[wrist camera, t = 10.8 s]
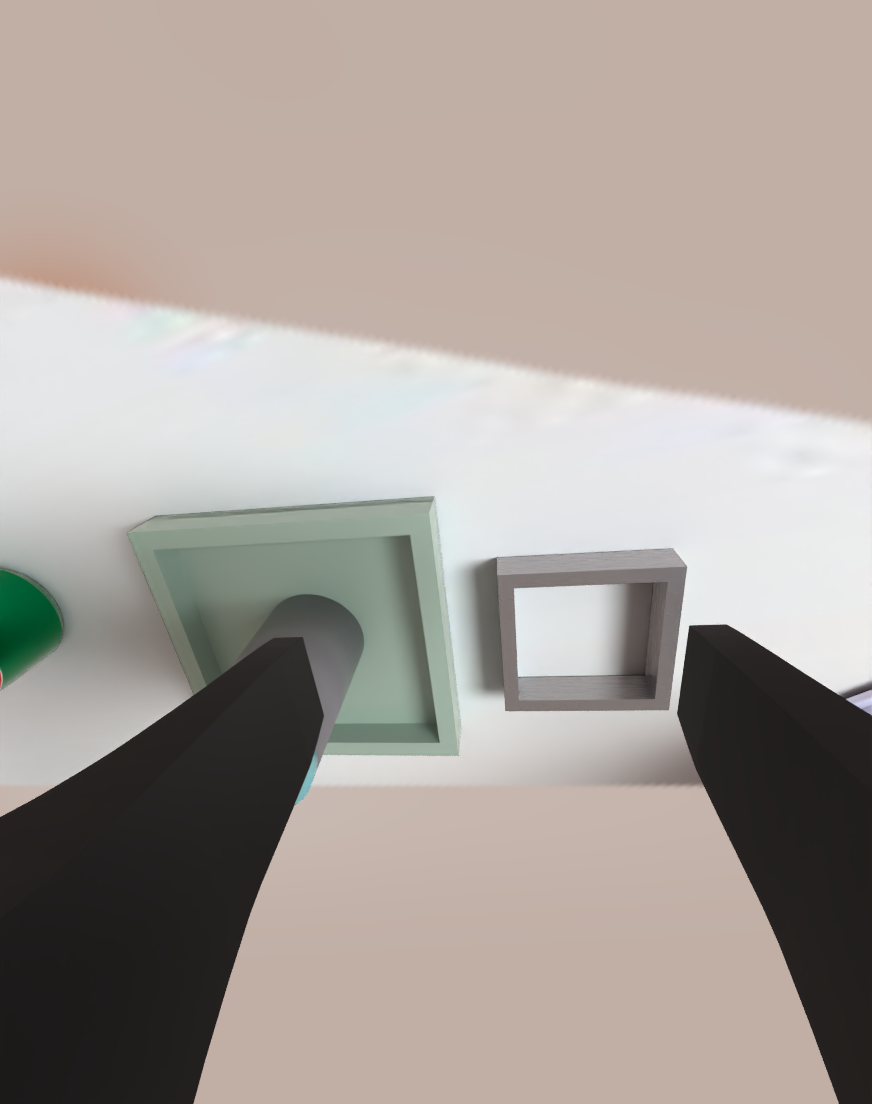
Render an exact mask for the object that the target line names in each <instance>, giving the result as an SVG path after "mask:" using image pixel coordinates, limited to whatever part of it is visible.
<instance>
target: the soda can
mask: <svg viewBox="0 0 872 1104" xmlns="http://www.w3.org/2000/svg"><path fill="white" fill-rule="evenodd" d="M62 632H63V619H62V615H61V612H60V609H59V607H58V605H57V603H56V602H55V600H54V599H53V598H52V596H51V595H50V594H49V593H48V592H47V591H46V590H45V589H44V588H43V587H42V586H40V585H39V584H38V583H37V582H35V581H33V580H32V579H30V578H28V577H26V576H24V575H22V574H19V573H17V572H13V571H9V570H5V569H0V691H2V690H3V689H4V688H6V687H7V686H8V685H9V684H11V683H12V682H13V681H15V680H16V679H17V678H19V677H20V676H21V675H23V674H24V673H25V672H27V671H28V670H29V669H31V668H32V667H33V666H35V665H36V664H37V663H39V662H40V661H41V660H43V659H44V658H45V657H47V656H48V655H49V654H51V653H52V652H53V651H54V650H55V649H56V648H57V647H58V646H59V644H60V642H61V638H62Z"/></svg>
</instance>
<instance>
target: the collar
mask: <svg viewBox="0 0 872 1104" xmlns="http://www.w3.org/2000/svg"><path fill="white" fill-rule="evenodd" d="M686 570H687V566H686V565H685V563H684V562H683V561H682V560H681V558H680V557H679V556H678V554H677V553H676V552H675V551H674V549H658V550H638V551H619V552H599V553H579V554H560V555H540V556H520V557H500V558H497V582H498V598H499V614H500V630H501V647H502V663H503V679H504V695H505V711H608V710H669V705H670V697H671V689H672V681H673V673H674V665H675V657H676V649H677V641H678V634H679V626H680V618H681V610H682V602H683V594H684V586H685V578H686ZM651 582H654V583H653V594H652V604H651V615H650V625H649V636H648V646H647V657H646V667H645V675H639V676H576V677H518V672H517V650H516V628H515V606H514V588H531V587H555V586H579V585H603V584H627V583H651Z"/></svg>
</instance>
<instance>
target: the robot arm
mask: <svg viewBox="0 0 872 1104" xmlns="http://www.w3.org/2000/svg"><path fill="white" fill-rule="evenodd" d="M677 714H678V718H679V721H680V724H681V727H682V730H683V733H684V736H685V739H686V742H687V745H688V748H689V751H690V754H691V756H692V759H693V762H694V765H695V768H696V770H697V772H698V774H699V776H700V779H701V781H702V783H703V785H704V787H705V789H706V791H707V793H708V795H709V797H710V800H711V802H712V804H713V806H714V808H715V810H716V812H717V814H718V816H719V818H720V820H721V822H722V824H723V826H724V829H725V831H726V833H727V835H728V837H729V839H730V841H731V843H732V845H733V847H734V849H735V851H736V853H737V855H738V857H739V859H740V862H741V863H742V866H743V868H744V870H745V872H746V874H747V876H748V878H749V880H750V882H751V884H752V886H753V888H754V890H755V892H756V894H757V896H758V898H759V901H760V903H761V905H762V906H763V909H764V911H765V913H766V916H767V918H768V920H769V922H770V925H771V927H772V929H773V931H774V934H775V936H776V938H777V941H778V943H779V945H780V948H781V950H782V953H783V955H784V958H785V961H786V963H787V966H788V969H789V971H790V974H791V976H792V979H793V981H794V984H795V987H796V989H797V992H798V994H799V997H800V1000H801V1002H802V1005H803V1007H804V1010H805V1013H806V1015H807V1018H808V1020H809V1023H810V1026H811V1028H812V1031H813V1034H814V1036H815V1039H816V1042H817V1045H818V1047H819V1050H820V1053H821V1055H822V1058H823V1061H824V1064H825V1067H826V1069H827V1072H828V1075H829V1077H830V1080H831V1083H832V1085H833V1088H834V1091H835V1094H836V1096H837V1099H838V1102H839V1104H872V690H869V691H866V692H864V693H861V694H858V695H855V696H853V697H850V698H847V699H844V698H843V697H841V696H839V695H838V694H836V693H835V692H833V691H832V690H830V689H828V688H827V687H825V686H824V685H822V684H820V683H819V682H817V681H816V680H814V679H812V678H811V677H809V676H808V675H806V674H805V673H803V672H802V671H800V670H798V669H797V668H795V667H794V666H792V665H791V664H789V663H788V662H786V661H784V660H783V659H781V658H780V657H778V656H777V655H775V654H774V653H772V652H770V651H769V650H767V649H766V648H764V647H763V646H761V645H760V644H758V643H756V642H755V641H753V640H752V639H750V638H748V637H747V636H745V635H744V634H742V633H740V632H739V631H737V630H735V629H734V628H732V627H730V626H728V625H693V626H689V632H688V639H687V646H686V654H685V661H684V668H683V676H682V683H681V690H680V698H679V705H678V712H677ZM323 718H324V713H323V709H322V706H321V702H320V698H319V695H318V691H317V687H316V684H315V680H314V676H313V673H312V669H311V665H310V662H309V658H308V654H307V651H306V647H305V643H304V639H303V637H284V638H273V639H271V640H270V641H268V642H267V643H265V644H263V645H262V646H260V647H259V648H258V649H256V650H255V651H253V652H252V653H250V654H249V655H248V656H246V657H245V658H244V659H242V660H241V661H239V662H238V663H237V664H235V665H234V666H233V667H231V668H230V669H229V670H227V671H226V672H225V673H223V674H222V675H221V676H219V677H218V678H217V679H215V680H214V681H212V682H211V683H210V684H208V685H207V686H206V687H204V688H203V689H202V690H200V691H199V692H197V693H196V694H195V695H193V696H192V697H191V698H189V699H188V700H187V701H185V702H184V703H183V704H181V705H180V706H178V707H177V708H175V709H174V710H173V711H171V712H170V713H168V714H167V715H165V716H164V717H162V718H161V719H160V720H158V721H157V722H155V723H154V724H152V725H151V726H149V727H148V728H146V729H145V730H144V731H142V732H141V733H139V734H138V735H136V736H135V737H133V738H132V739H130V740H129V741H128V742H126V743H125V744H123V745H122V746H120V747H119V748H117V749H116V750H114V751H112V752H111V753H109V754H108V755H106V756H105V757H103V758H102V759H100V760H98V761H97V762H95V763H94V764H92V765H90V766H89V767H87V768H86V769H84V770H82V771H81V772H79V773H77V774H76V775H74V776H72V777H70V778H69V779H67V780H65V781H64V782H62V783H60V784H59V785H57V786H55V787H54V788H52V789H50V790H49V791H47V792H45V793H44V794H42V795H40V796H38V797H37V798H35V799H33V800H31V801H30V802H28V803H26V804H24V805H22V806H20V807H18V808H16V809H15V810H13V811H11V812H9V813H7V814H5V815H3V816H1V817H0V1104H193V1103H194V1099H195V1096H196V1092H197V1088H198V1085H199V1081H200V1077H201V1073H202V1070H203V1066H204V1063H205V1059H206V1056H207V1052H208V1049H209V1045H210V1042H211V1039H212V1035H213V1032H214V1028H215V1025H216V1022H217V1018H218V1015H219V1012H220V1008H221V1005H222V1002H223V998H224V995H225V991H226V988H227V985H228V981H229V978H230V975H231V972H232V969H233V966H234V962H235V959H236V956H237V953H238V950H239V947H240V944H241V941H242V937H243V934H244V931H245V928H246V924H247V921H248V919H249V916H250V913H251V910H252V907H253V905H254V902H255V899H256V897H257V894H258V891H259V889H260V886H261V884H262V881H263V879H264V876H265V874H266V871H267V869H268V867H269V864H270V862H271V860H272V857H273V855H274V852H275V850H276V848H277V845H278V843H279V841H280V838H281V836H282V833H283V831H284V829H285V826H286V824H287V822H288V819H289V817H290V814H291V812H292V810H293V807H294V805H295V802H296V800H297V798H298V795H299V793H300V790H301V788H302V785H303V783H304V781H305V778H306V776H307V773H308V771H309V768H310V765H311V762H312V759H313V756H314V752H315V749H316V745H317V742H318V738H319V734H320V730H321V726H322V722H323Z"/></svg>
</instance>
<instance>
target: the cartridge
mask: <svg viewBox="0 0 872 1104" xmlns="http://www.w3.org/2000/svg"><path fill="white" fill-rule="evenodd" d="M284 637H303V639H304V643H305V647H306V651H307V654H308V658H309V662H310V665H311V669H312V673H313V676H314V680H315V684H316V687H317V691H318V695H319V698H320V702H321V706H322V709H323V713H324V718H323V722H322V726H321V730H320V734H319V738H318V742H317V745H316V749H315V752H314V756H313V759H312V762H311V765H310V768H309V771H308V773H307V776H306V778H305V781H304V783H303V785H302V788H301V790H300V793H299V795H298V798H297V800H296V802H295V805H296V804H297V803H298V802H300V801H301V800H302V799H303V798H304V797H305V796H306V794H307V793H308V791H309V789H310V786H311V783H312V781H313V778H314V776H315V773H316V771H317V768H318V765H319V763H320V760H321V758H322V755H323V753H324V750H325V748H326V745H327V742H328V740H329V737H330V735H331V732H332V730H333V727H334V724H335V722H336V719H337V717H338V714H339V712H340V709H341V706H342V704H343V701H344V699H345V696H346V694H347V691H348V688H349V686H350V683H351V681H352V678H353V676H354V673H355V670H356V668H357V665H358V663H359V660H360V658H361V655H362V652H363V649H364V635H363V632H362V629H361V626H360V624H359V622H358V621H357V619H356V618H355V617H354V615H353V614H352V613H351V612H350V611H349V610H348V609H346V608H345V607H344V606H343V605H341V604H339V603H338V602H336V601H334V600H332V599H330V598H327V597H324V596H320V595H313V594H302V595H296V596H292V597H290V598H287V599H285V600H284V601H282V602H281V603H280V604H278V605H277V606H276V608H275V609H274V610H273V611H272V613H271V614H270V615H269V617H268V618H267V619H266V621H265V622H264V623H263V625H262V626H261V627H260V629H259V630H258V631H257V633H256V634H255V635H254V637H253V638H252V639H251V641H250V642H249V643H248V645H247V646H246V647H245V649H244V650H243V651H242V653H241V654H240V655H239V656H238V658H237V659H236V660H235V662H234V663H233V664H232V666H231V667H233V666H234V665H235V664H237V663H238V662H239V661H241V660H242V659H244V658H245V657H246V656H248V655H249V654H250V653H252V652H253V651H255V650H256V649H258V648H259V647H260V646H262V645H263V644H265V643H267V642H268V641H270V640H271V639H273V638H284ZM231 667H230V668H231ZM230 668H229V669H230Z"/></svg>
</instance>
